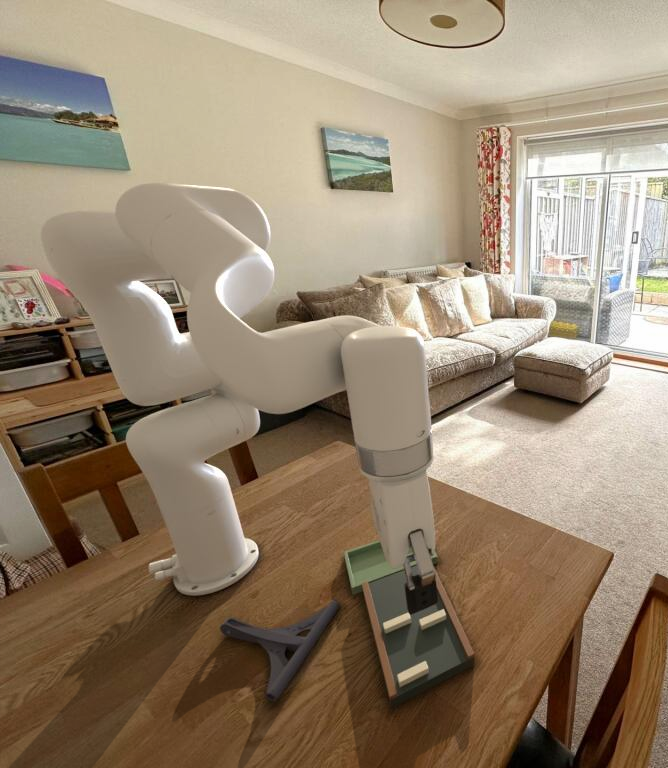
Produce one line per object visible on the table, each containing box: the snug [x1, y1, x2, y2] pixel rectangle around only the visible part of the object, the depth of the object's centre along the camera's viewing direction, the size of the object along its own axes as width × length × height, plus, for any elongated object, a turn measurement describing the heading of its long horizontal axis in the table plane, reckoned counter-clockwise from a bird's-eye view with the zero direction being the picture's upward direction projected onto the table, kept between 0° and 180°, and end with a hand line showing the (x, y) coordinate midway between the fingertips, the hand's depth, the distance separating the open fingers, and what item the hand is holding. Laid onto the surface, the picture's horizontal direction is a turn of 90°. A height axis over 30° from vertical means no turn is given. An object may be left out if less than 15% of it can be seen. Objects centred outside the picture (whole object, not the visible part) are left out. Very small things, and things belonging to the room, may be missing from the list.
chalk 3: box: [419, 609, 446, 630], centre depth 62 cm, size 4×1×1 cm, turn 119°
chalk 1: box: [383, 612, 411, 634], centre depth 62 cm, size 4×1×1 cm, turn 119°
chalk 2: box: [397, 661, 429, 687], centre depth 55 cm, size 4×1×1 cm, turn 119°
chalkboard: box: [362, 565, 475, 709], centre depth 63 cm, size 12×20×2 cm, turn 29°
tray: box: [343, 539, 439, 596], centre depth 76 cm, size 15×9×2 cm, turn 119°
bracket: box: [219, 600, 341, 703], centre depth 60 cm, size 14×15×3 cm
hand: (410, 575), depth 47 cm, fingers open, 9 cm apart
